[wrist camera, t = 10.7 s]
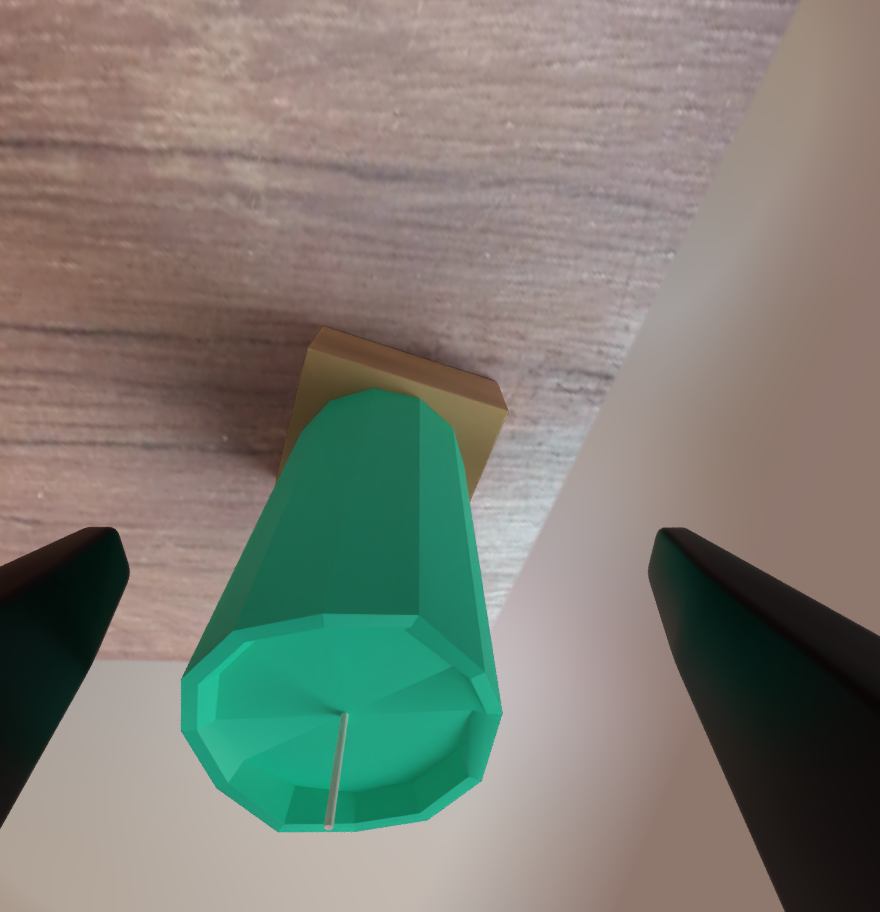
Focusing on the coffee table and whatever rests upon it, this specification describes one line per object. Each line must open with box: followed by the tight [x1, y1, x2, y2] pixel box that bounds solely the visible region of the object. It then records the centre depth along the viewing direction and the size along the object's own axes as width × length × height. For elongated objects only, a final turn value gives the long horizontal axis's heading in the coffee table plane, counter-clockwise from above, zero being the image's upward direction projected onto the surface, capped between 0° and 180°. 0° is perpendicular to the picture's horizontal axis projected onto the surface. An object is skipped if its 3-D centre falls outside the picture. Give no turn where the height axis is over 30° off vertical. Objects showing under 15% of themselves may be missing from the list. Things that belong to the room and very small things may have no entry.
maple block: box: [275, 326, 508, 501], centre depth 20 cm, size 7×7×3 cm
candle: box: [181, 388, 503, 832], centre depth 14 cm, size 6×6×12 cm
